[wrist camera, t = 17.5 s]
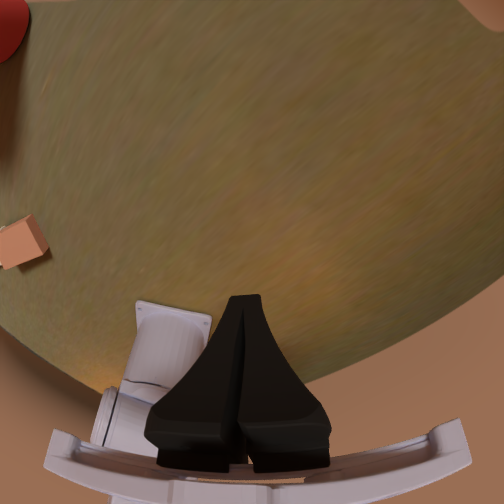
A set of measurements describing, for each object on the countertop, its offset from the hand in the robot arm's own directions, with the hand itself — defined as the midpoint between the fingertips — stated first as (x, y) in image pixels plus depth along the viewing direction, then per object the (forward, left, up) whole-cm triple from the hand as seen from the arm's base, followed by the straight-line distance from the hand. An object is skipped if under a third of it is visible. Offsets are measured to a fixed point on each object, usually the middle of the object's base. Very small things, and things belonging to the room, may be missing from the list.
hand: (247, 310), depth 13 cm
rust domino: (-6, +20, -10) cm, 23 cm away
